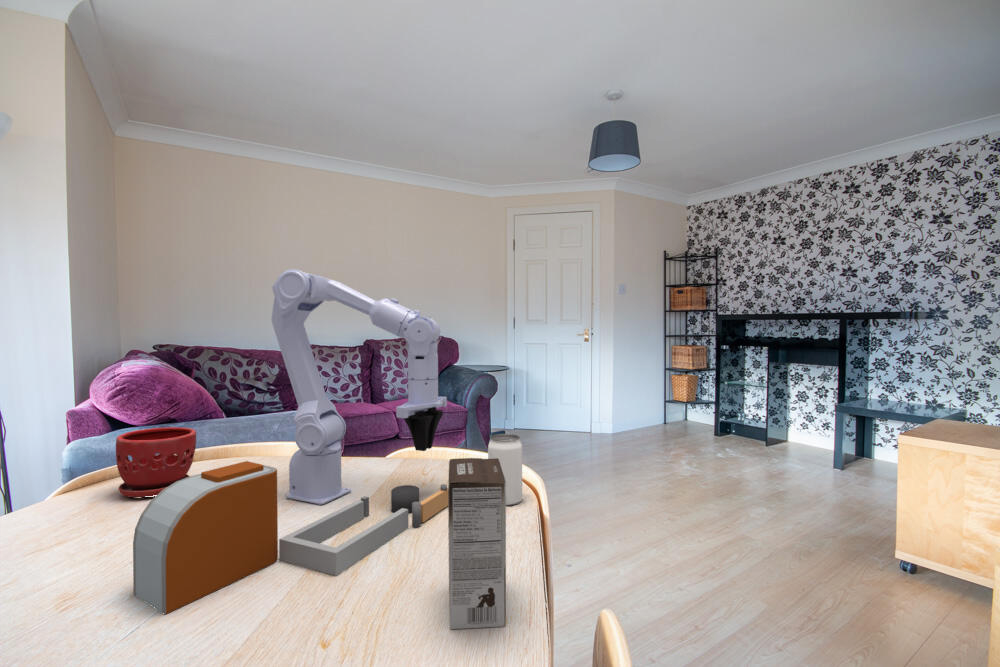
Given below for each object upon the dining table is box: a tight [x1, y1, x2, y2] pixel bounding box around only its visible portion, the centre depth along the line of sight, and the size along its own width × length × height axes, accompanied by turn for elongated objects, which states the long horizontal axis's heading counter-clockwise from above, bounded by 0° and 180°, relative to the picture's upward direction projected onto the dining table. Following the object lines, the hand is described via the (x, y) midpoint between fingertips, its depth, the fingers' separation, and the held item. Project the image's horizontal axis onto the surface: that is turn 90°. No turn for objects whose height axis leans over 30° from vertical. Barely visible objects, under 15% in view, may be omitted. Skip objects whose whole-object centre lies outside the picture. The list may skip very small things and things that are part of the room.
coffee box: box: [447, 457, 507, 630], centre depth 54 cm, size 9×6×16 cm
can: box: [487, 433, 523, 507], centre depth 87 cm, size 6×6×12 cm
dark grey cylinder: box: [390, 484, 420, 515], centre depth 83 cm, size 5×5×4 cm
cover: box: [411, 484, 448, 528], centre depth 80 cm, size 10×1×4 cm, turn 156°
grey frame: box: [278, 496, 409, 576], centre depth 71 cm, size 10×18×3 cm, turn 156°
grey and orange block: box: [132, 460, 279, 615], centre depth 61 cm, size 15×8×14 cm, turn 150°
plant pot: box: [115, 426, 197, 498], centre depth 93 cm, size 13×13×12 cm
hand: (423, 449), depth 89 cm, fingers closed
